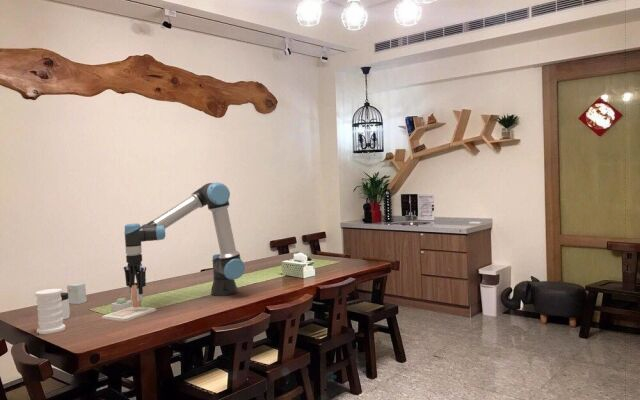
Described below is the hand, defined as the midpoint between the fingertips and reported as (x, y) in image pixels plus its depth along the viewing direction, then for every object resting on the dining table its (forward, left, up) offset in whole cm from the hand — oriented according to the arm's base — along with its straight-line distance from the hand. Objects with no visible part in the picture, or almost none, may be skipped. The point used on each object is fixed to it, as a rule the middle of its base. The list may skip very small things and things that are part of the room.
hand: (136, 300), depth 255 cm
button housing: (+14, -3, -6) cm, 16 cm away
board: (+1, +4, -6) cm, 8 cm away
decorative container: (+16, +36, -7) cm, 40 cm away
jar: (+31, +20, -7) cm, 38 cm away
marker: (0, 0, -3) cm, 3 cm away
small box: (+52, -6, -7) cm, 53 cm away
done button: (+14, -3, -5) cm, 16 cm away
